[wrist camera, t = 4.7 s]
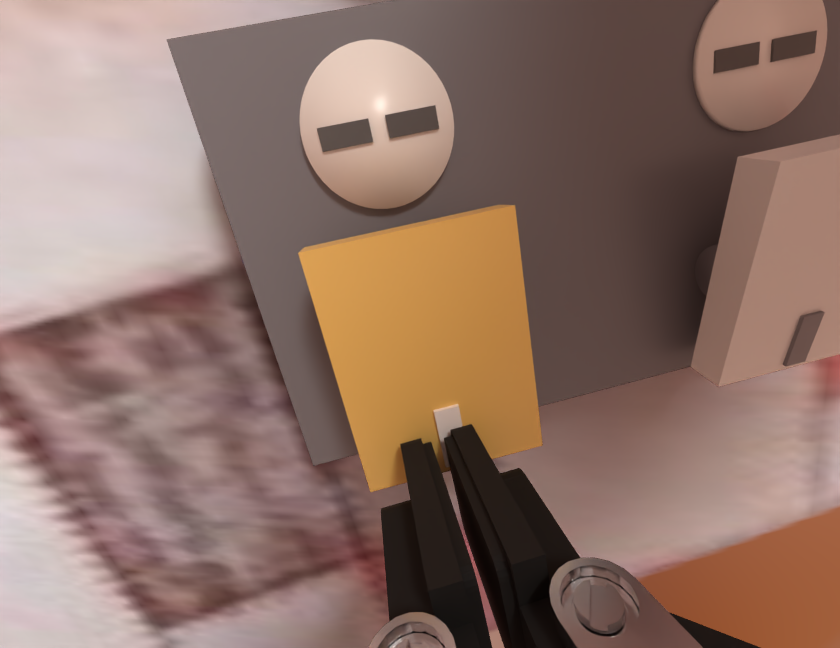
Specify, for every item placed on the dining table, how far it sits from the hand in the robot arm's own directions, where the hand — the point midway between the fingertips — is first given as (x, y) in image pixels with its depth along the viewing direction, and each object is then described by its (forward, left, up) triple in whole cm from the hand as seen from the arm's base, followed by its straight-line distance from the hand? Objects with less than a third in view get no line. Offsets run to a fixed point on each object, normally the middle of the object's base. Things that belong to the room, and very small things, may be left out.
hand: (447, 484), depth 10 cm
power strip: (-5, +5, -5) cm, 9 cm away
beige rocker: (-3, +10, -1) cm, 11 cm away
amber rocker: (-3, 0, -1) cm, 3 cm away
